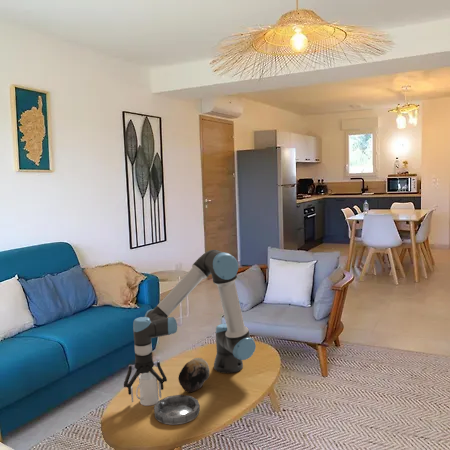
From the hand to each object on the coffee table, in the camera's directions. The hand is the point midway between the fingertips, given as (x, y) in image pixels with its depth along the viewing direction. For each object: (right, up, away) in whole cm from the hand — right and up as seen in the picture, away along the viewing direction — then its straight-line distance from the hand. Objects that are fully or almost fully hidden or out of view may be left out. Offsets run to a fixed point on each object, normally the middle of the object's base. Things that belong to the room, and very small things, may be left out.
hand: (146, 398), depth 208 cm
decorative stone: (+21, 0, +10) cm, 24 cm away
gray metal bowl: (+15, -2, -10) cm, 18 cm away
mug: (0, -2, 0) cm, 2 cm away
